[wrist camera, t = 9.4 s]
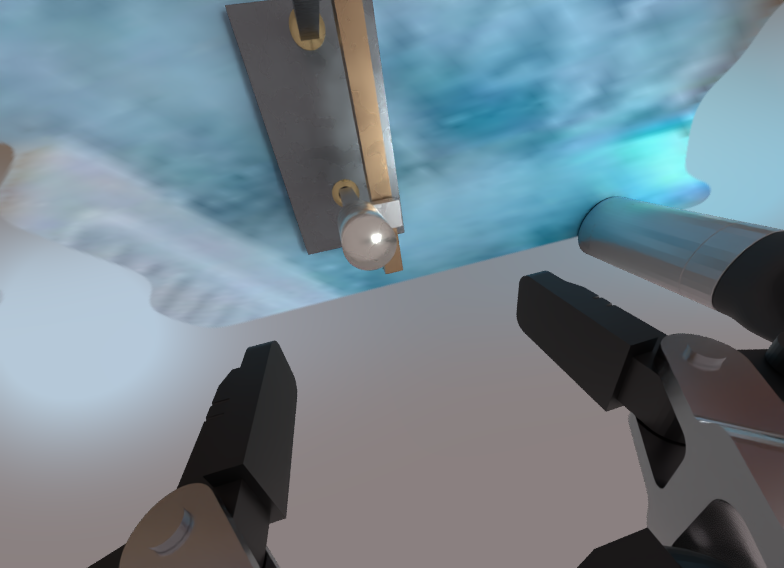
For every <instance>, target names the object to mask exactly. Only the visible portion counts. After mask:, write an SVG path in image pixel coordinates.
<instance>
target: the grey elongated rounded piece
mask: <svg viewBox="0 0 784 568" xmlns="http://www.w3.org/2000/svg"><path fill="white" fill-rule="evenodd" d="M339 193H340V198H341V202H342V205H343V208H342V209H341V211H340V213H339V215H338V221H337V223H338V229H339V234H340V239H341V243H342V248H343V252H344V255H345V257H346V259H347V260H348V262H349V263H350V264H352V265H353V266H354V267H356V268H358V269H361V270H376V269H379V268H381V267H383V266H385V265H386V264H387V263H388V262H389V261H390V260H391V259H392V257H393V256H394V254H395V251H396V247H397V239H396V235H395V232H394V231H393V229H392V228H396V227H400V226H403V224H402V217H401V209H400V202H399V199H397V198H396V197H392V198H387V199H382V200H378V201H373V202H367V201H363V200H359V198H358V196H357V195H356V193H355V192H354V190H353V189H352V187H348V188H343V189H339Z"/></svg>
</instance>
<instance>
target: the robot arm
mask: <svg viewBox="0 0 784 568" xmlns="http://www.w3.org/2000/svg"><path fill="white" fill-rule="evenodd" d="M578 242H579V246H580V249H581V250H582V251H583V252H585V253H586V254H589V255H591V256H593V257H595V258H598V259H600V260H602V261H604V262H607V263H609V264H611V265H613V266H616V267H618V268H620V269H622V270H625V271H627V272H629V273H632V274H634V275H636V276H638V277H641V278H643V279H645V280H648V281H650V282H652V283H654V284H657V285H659V286H661V287H664V288H666V289H668V290H671V291H673V292H675V293H677V294H680V295H682V296H684V297H687V298H689V299H691V300H694V301H696V302H698V303H701V304H703V305H705V306H707V307H709V308H712V309H714V310H717V311H718V312H721V313H723V314H725V315H728V316H729V317H732V318H733V319H734V320H736V321H737V322H738V323H739V324H741V325H742V326H743V327H745V328H746V329H747V330H749V331H751V332H752V333H754V334H756V335H758V336H760V337H762V338H764V339H766V340H769V341H770V342H772V345H771V346H770V347H769V349H759V350H757V349H755V350H736V349H734V348H732V347H731V346H729V345H726V344H724V343H722V342H719V341H717V340H714V339H711V338H708V337H703V336H700V335H694V334H685V333H684V334H683V333H682V334H681V333H680V334H679V333H678V334H671V335H666V334H664V333H663V332H660V331H659V330H657V329H656V328H654V327H652V326H650V325H649V324H647V323H645V322H643V321H642V320H640V319H638V318H637V317H635V316H633V315H631V314H630V313H628V312H626V311H624V310H623V309H621V308H619V307H617V306H615V305H612V304H611V303H610V302H609V301H607V300H605V299H603V298H599V296H598V295H597V294H595V293H593V292H591V291H589V290H588V289H586V288H584V287H582V286H579V285H576V284H573V283H569V282H566V281H564V280H562V279H561V278H559V277H557V276H556V275H554V274H552V273H550V272H549V271H542V272H538V273H534V274H530V275H526V276H523V277H522V278H521V279H520V282H519V292H518V302H517V321H518V324H519V326H520V328H521V329H522V330H523V332H525V334H526V335H527V336H528V337H529V338H531V339H532V340H533V341H534V342H535V343H536V344H537V345H538V346H539V347H540V348H541V349H542V350H543V351H544V352H545V353H546V354H547V355H548V356H549V357H550V358H551V359H552V360H553V361H554V362H555V363H556V364H557V365H559V366H560V368H562V369H563V370H564V371H565V372H566V373H567V374H568V375H569V376H570V377H571V378H572V379H573V380H574V381H575V382H576V383H577V384H578V385H579V386H580V387H581V388H583V390H584V391H585V392H586V393H587V394H588V395H589V396H590V397H591V398H593V399H594V400H595V401H596V402H597V403H598V404H599V405H600V406H601V407H602V408H603V409H604V410H605V411H609V410H612V409H615V408H618V407H621V406H625V407H626V408H627V409H628V410H629V411H630V413H629V415H628V422H629V426H630V429H631V433H632V437H633V441H634V445H635V448H636V452H637V456H638V460H639V463H640V467H641V471H642V474H643V478H644V482H645V485H646V489H647V494H648V511H647V528H645V529H643V530H640V531H638V532H635V533H633V534H631V535H628V536H625V537H623V538H621V539H618V540H616V541H613V542H611V543H608V544H606V545H603V546H601V547H598V548H596V549H594V550H593V551H592V552H591V554H589V556H588V557H587V558H586V559H585V560H584V561H583V562H582V563H581V564H580V565H579V566H578V567H577V568H784V230H781V229H777V228H772V227H767V226H761V225H757V224H751V223H746V222H741V221H736V220H731V219H726V218H721V217H716V216H711V215H707V214H701V213H697V212H692V211H687V210H682V209H677V208H672V207H667V206H662V205H657V204H652V203H648V202H643V201H638V200H633V199H628V198H623V197H611V198H608V199H606V200H604V201H602V202H600V203H599V204H597V205H596V206H595V207H594V208H593V209H592V210H591V211H590V212H589V214H588V215H587V216H586V218H585V219H584V221H583V223H582V225H581V227H580V231H579V235H578ZM296 402H297V386H296V381H295V378H294V375H293V373H292V371H291V369H290V366H289V364H288V362H287V360H286V358H285V356H284V354H283V352H282V350H281V348H280V346H279V344H278V343H277V341H271V342H267V343H264V344H259V345H256V346H252V347H249V348H247V350H246V352H245V355H244V358H243V361H242V364H241V367H240V368H236V369H233V370H231V372H230V373H229V374H228V375H227V377H226V378H225V379H224V380H223V381H222V383H221V384H220V385H219V387H218V389H217V392H216V394H215V397H214V399H213V401H212V406H211V407H210V409H209V411H208V414H207V416H206V422H204V424H203V426H202V429H201V431H200V434H199V436H198V438H197V441H196V443H195V446H194V448H193V451H192V453H191V455H190V458H189V461H188V463H187V465H186V468H185V470H184V473H183V475H182V478H181V480H180V482H179V485H178V487H177V489H176V490H175V491H173V492H171V493H170V494H168V495H167V496H165V497H164V498H163V499H161V500H160V501H159V502H158V503H157V504H156V505H155V506H153V507H152V508H151V509H150V510H149V511H148V513H147V514H146V515H145V516H144V517H143V518H142V519H141V521H140V522H139V523H138V525H137V526H136V528H135V529H134V531H133V532H132V534H131V535H130V537H129V539H128V541H127V543H126V544H125V545H123V546H121V547H120V548H118V549H117V550H115V551H113V552H112V553H110V554H109V555H107V556H105V557H104V558H102V559H101V560H99V561H97V562H96V563H94V564H93V565H91V566H89V567H88V568H280V567H279V565H278V563H277V561H276V560H275V558H274V557H273V555H272V553H271V551H270V550H269V548H268V547H267V546H266V543H267V535H268V529H269V524H270V523H273V522H276V521H279V520H282V519H285V518H286V512H287V501H288V491H289V480H290V469H291V458H292V446H293V434H294V425H295V414H296Z"/></svg>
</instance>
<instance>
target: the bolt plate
mask: <svg viewBox="0 0 784 568" xmlns="http://www.w3.org/2000/svg"><path fill="white" fill-rule="evenodd" d="M225 7H226V10H227V13H228V16H229V19H230V22H231V25H232V28H233V31H234V34H235V37H236V40H237V43H238V46H239V49H240V52H241V55H242V58H243V61H244V64H245V67H246V70H247V73H248V76H249V79H250V82H251V85H252V88H253V91H254V94H255V97H256V100H257V103H258V106H259V109H260V112H261V115H262V118H263V121H264V124H265V127H266V130H267V133H268V136H269V139H270V142H271V145H272V148H273V151H274V154H275V156H276V159H277V162H278V165H279V168H280V171H281V174H282V177H283V180H284V183H285V186H286V189H287V192H288V195H289V198H290V201H291V204H292V207H293V210H294V213H295V216H296V219H297V222H298V225H299V228H300V231H301V234H302V237H303V240H304V243H305V246H306V249H307V252H308V255H310V254H314V253H318V252H323V251H327V250H331V249H336V248H340V247H342V243H341V239H340V234H339V229H338V223H337V221H338V215H339V213H340V211H341V209H342V208H343V205H342V202H341V198H340V193H339V189H343V188H348V187H352V189H353V190H354V192H355V193H356V195H357V196H358V198H359V200H363V201H367V202H373V201H378V200H382V199H387V198H392V197H396V198H397V199H399V202H400V197H399V190H398V182H397V175H396V168H395V161H394V154H393V146H392V139H391V132H390V125H389V118H388V110H387V103H386V96H385V89H384V82H383V74H382V67H381V60H380V53H379V45H378V38H377V31H376V24H375V17H374V9H373V2H372V0H268V1H259V2H251V3H242V4H233V5H225ZM400 209H401V204H400ZM401 217H402V211H401ZM402 224H403V219H402ZM392 229H393V231H394V232H395V235H396V239H397V247H396V251H395V254H394V256H393V257H392V259H391V260H390V261H389V262H388V263H387V264H386V265H385V266H383V269H384V271H385V274H389V273H393V272H397V271H401V270H403V266H402V260H401V253H400V246H399V240H398V234H400V233H404V226H400V227H396V228H392Z"/></svg>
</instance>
